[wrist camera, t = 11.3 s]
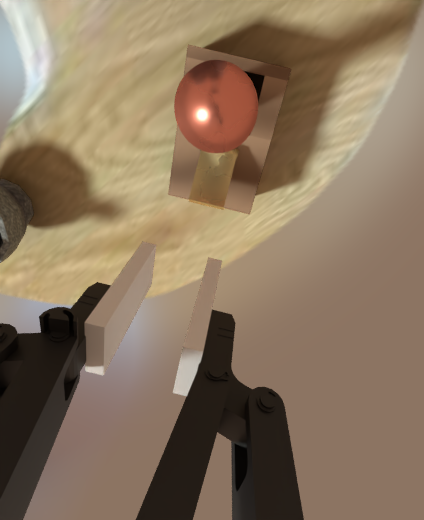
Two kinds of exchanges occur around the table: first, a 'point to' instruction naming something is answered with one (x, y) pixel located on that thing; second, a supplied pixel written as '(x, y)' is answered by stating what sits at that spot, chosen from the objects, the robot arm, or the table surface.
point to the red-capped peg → (216, 106)
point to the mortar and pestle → (13, 217)
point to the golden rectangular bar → (213, 178)
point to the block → (251, 149)
